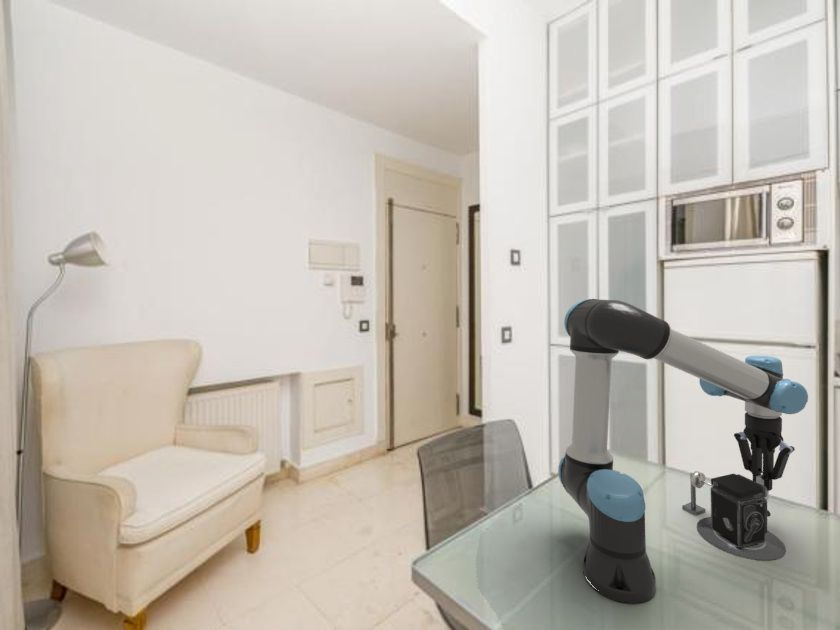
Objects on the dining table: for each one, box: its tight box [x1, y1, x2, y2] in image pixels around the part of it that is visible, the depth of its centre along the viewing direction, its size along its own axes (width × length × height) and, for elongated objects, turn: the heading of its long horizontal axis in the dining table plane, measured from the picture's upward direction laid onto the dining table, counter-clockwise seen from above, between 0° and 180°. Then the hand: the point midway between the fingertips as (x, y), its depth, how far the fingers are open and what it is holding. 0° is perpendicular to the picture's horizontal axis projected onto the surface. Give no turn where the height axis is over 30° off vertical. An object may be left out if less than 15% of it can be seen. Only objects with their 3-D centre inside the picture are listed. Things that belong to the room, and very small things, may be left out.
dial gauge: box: [681, 470, 714, 516], centre depth 114 cm, size 4×8×12 cm, turn 21°
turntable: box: [696, 516, 786, 562], centre depth 103 cm, size 18×18×1 cm
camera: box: [710, 473, 772, 547], centre depth 103 cm, size 10×10×15 cm
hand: (762, 499), depth 107 cm, fingers closed
